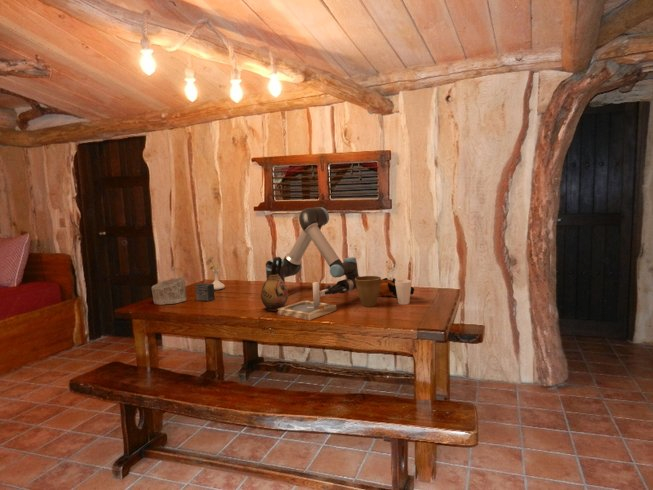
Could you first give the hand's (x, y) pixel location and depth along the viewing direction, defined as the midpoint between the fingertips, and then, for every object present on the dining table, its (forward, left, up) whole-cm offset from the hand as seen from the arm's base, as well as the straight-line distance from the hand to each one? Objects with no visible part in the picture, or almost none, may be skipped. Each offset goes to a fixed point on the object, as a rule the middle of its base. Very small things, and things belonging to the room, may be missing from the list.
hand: (320, 294), depth 246 cm
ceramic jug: (-27, -8, -10) cm, 30 cm away
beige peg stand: (-6, -5, -10) cm, 12 cm away
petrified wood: (-99, -30, -10) cm, 104 cm away
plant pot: (+15, +25, -10) cm, 31 cm away
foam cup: (+30, +39, -10) cm, 51 cm away
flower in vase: (-104, +10, -10) cm, 105 cm away
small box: (-83, -15, -10) cm, 85 cm away
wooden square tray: (-6, -5, -10) cm, 12 cm away
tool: (+19, +49, -10) cm, 54 cm away
